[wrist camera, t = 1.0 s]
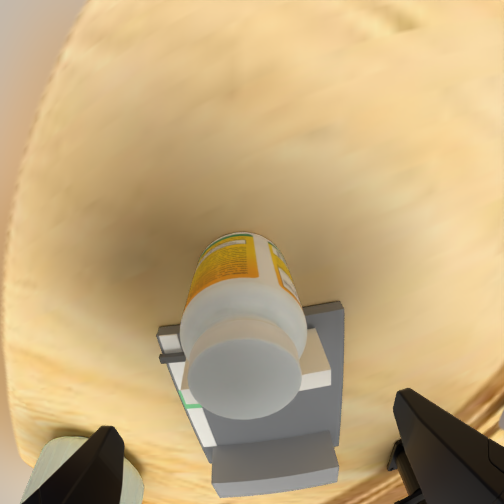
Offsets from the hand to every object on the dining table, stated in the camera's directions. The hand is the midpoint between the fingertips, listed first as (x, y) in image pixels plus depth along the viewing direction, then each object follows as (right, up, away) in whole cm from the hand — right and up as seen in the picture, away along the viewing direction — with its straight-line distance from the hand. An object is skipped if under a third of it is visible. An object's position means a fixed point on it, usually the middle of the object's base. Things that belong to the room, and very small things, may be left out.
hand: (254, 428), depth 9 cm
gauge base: (+1, -6, +15) cm, 16 cm away
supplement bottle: (-1, +4, +11) cm, 12 cm away
